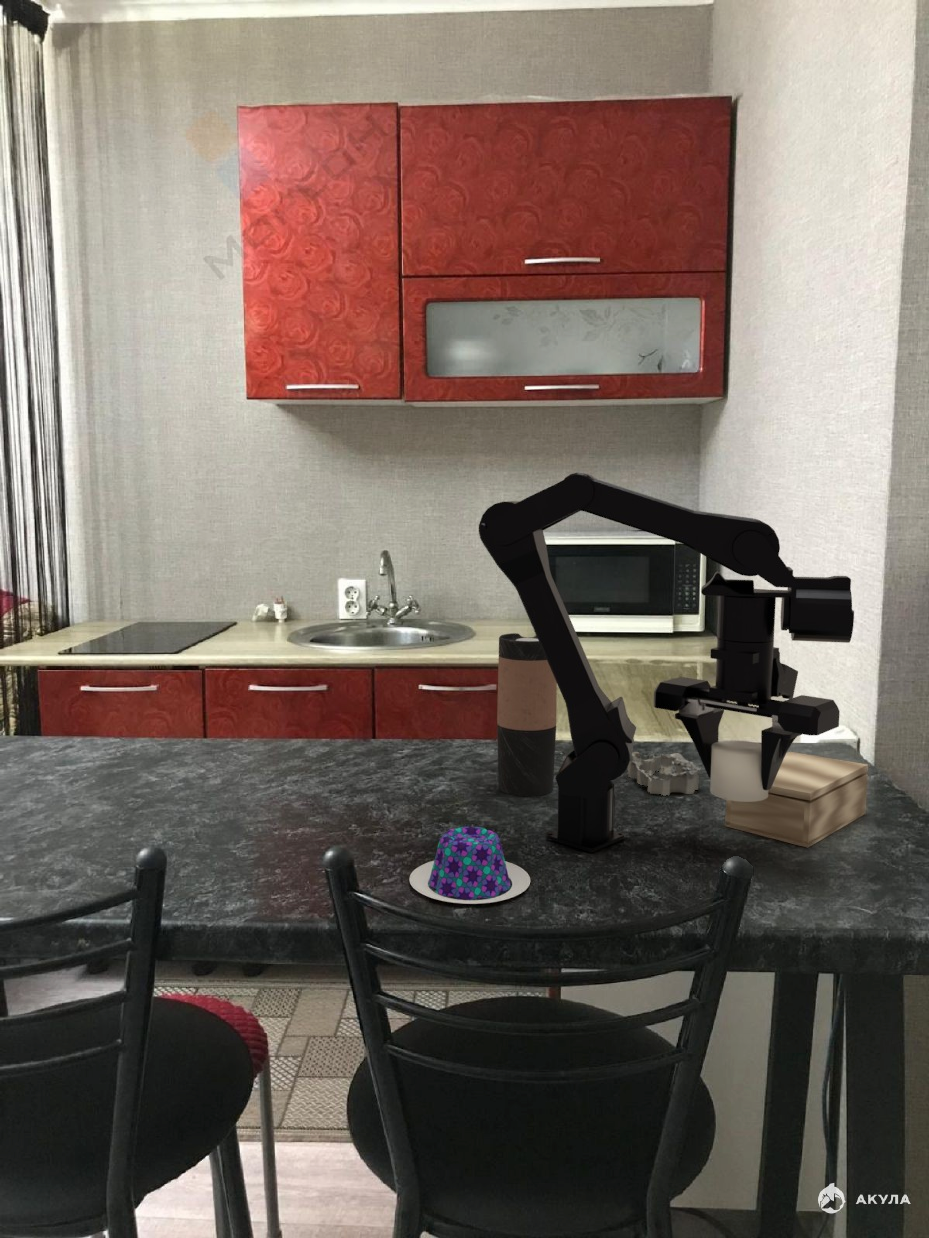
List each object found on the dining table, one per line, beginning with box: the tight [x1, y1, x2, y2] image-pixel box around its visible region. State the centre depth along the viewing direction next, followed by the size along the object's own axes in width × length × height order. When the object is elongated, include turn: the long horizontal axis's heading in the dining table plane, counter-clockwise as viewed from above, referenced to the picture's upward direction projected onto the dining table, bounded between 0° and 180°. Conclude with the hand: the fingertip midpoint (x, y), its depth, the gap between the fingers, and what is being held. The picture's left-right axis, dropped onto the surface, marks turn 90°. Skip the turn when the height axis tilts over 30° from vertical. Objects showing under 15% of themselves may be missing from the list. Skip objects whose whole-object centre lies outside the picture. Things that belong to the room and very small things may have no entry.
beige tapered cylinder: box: [709, 739, 768, 802], centre depth 106 cm, size 6×6×5 cm
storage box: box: [724, 772, 869, 849], centre depth 117 cm, size 16×10×5 cm, turn 137°
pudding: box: [408, 826, 531, 905], centre depth 98 cm, size 12×12×5 cm
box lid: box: [768, 751, 869, 801], centre depth 117 cm, size 16×10×1 cm, turn 137°
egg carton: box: [627, 751, 701, 797], centre depth 132 cm, size 11×8×4 cm
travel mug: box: [496, 632, 558, 797], centre depth 128 cm, size 8×8×20 cm
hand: (739, 783), depth 106 cm, fingers closed on beige tapered cylinder, 6 cm apart
